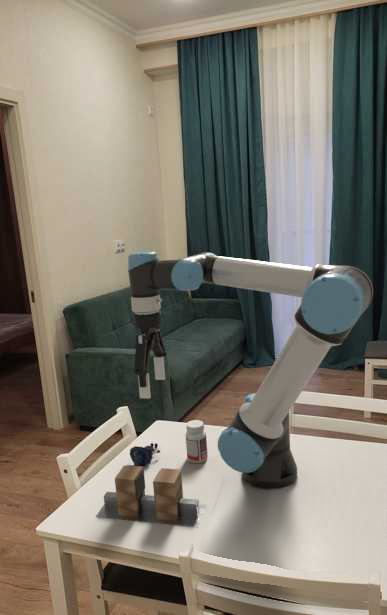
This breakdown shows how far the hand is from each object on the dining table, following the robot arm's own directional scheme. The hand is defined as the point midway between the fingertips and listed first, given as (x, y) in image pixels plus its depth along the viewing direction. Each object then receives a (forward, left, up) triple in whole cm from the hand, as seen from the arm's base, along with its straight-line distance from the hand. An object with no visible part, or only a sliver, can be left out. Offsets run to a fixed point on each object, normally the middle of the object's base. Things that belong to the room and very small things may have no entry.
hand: (153, 388), depth 131 cm
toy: (+8, -9, -27) cm, 30 cm away
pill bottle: (-8, -12, -27) cm, 30 cm away
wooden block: (+2, +16, -26) cm, 30 cm away
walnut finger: (-8, +16, -26) cm, 31 cm away
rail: (-3, +16, -27) cm, 31 cm away
